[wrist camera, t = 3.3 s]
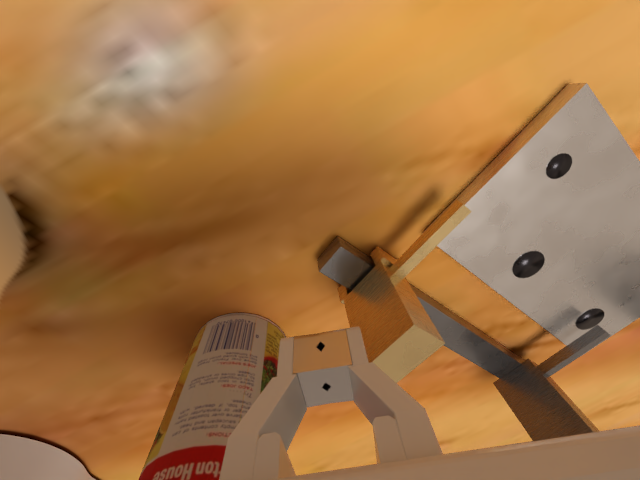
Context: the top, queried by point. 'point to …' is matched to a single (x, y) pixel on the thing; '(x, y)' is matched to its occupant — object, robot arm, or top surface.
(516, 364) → the rail
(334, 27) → the top surface
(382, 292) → the sliding leg
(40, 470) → the robot arm
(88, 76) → the top surface
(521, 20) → the top surface
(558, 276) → the bolt plate
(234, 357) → the canned food
